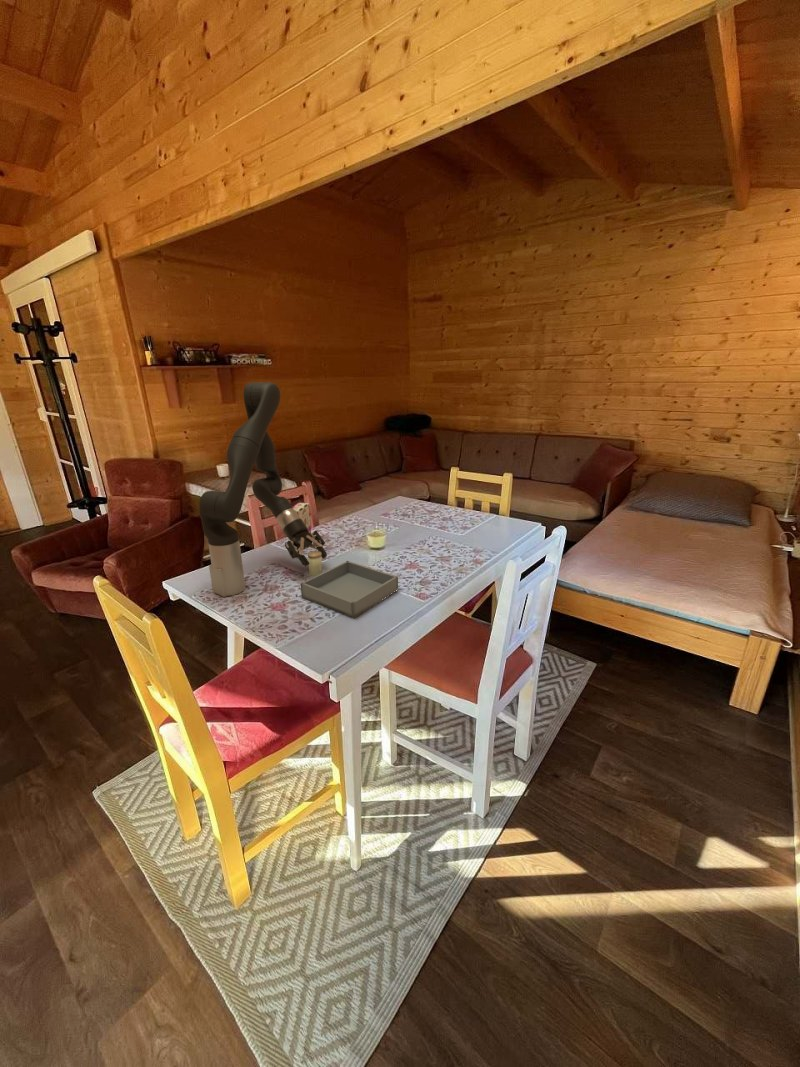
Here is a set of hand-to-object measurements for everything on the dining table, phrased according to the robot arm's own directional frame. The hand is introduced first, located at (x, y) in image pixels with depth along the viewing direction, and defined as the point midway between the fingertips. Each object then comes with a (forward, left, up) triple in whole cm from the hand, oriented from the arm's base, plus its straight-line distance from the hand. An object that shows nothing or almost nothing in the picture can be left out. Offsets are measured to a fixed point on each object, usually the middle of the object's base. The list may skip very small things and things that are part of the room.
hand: (316, 561), depth 157 cm
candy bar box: (+17, +27, -5) cm, 32 cm away
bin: (-4, -19, -5) cm, 20 cm away
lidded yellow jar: (0, +1, -5) cm, 5 cm away
